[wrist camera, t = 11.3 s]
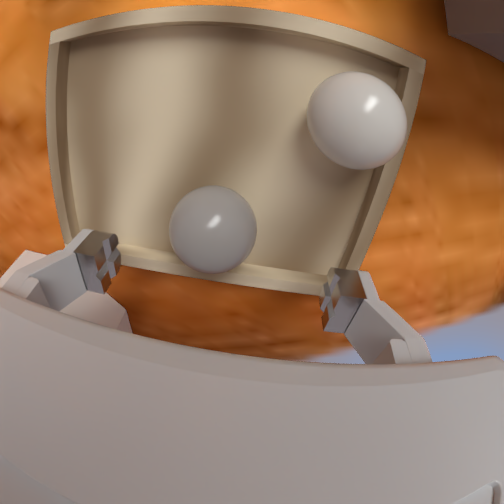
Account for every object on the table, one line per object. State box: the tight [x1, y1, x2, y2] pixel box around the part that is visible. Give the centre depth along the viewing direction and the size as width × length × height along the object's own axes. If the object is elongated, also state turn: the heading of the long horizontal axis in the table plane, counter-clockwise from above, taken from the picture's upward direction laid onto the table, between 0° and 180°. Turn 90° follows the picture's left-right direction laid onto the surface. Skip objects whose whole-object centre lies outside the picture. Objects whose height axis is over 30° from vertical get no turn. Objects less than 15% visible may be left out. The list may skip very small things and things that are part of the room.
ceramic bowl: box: [0, 250, 133, 334], centre depth 19 cm, size 14×14×6 cm
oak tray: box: [46, 5, 426, 296], centre depth 12 cm, size 18×14×2 cm
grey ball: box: [169, 185, 257, 274], centre depth 12 cm, size 4×4×4 cm
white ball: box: [307, 71, 407, 170], centre depth 9 cm, size 4×4×4 cm
